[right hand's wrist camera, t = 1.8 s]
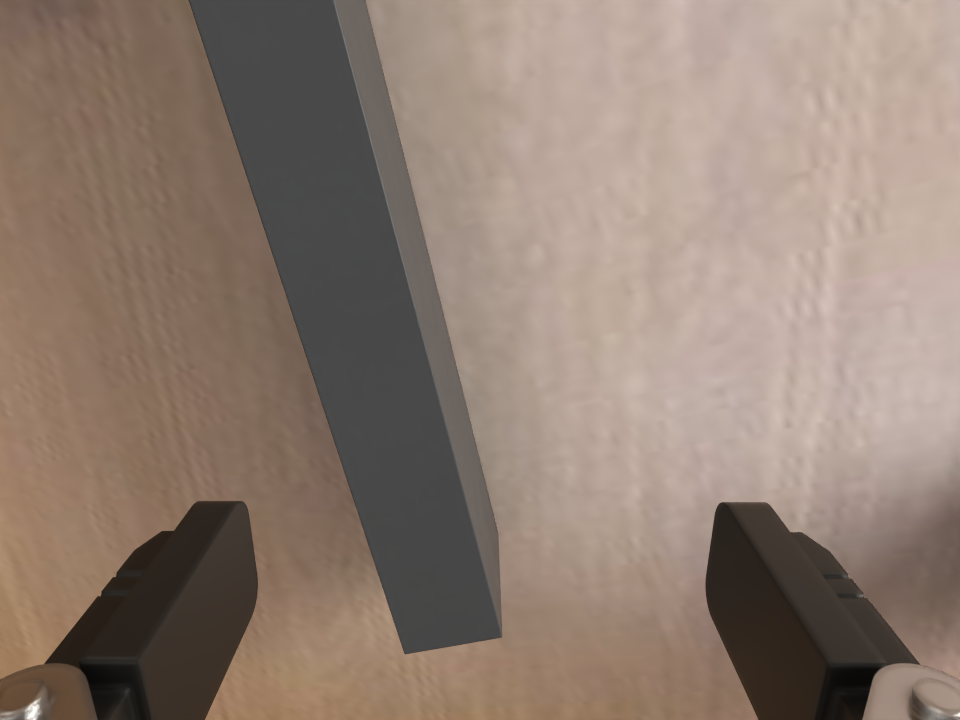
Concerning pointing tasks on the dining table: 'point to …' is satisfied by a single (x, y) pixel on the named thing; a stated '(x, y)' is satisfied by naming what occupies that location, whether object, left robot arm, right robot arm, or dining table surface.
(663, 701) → the dining table surface
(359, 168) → the bar
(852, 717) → the right robot arm
